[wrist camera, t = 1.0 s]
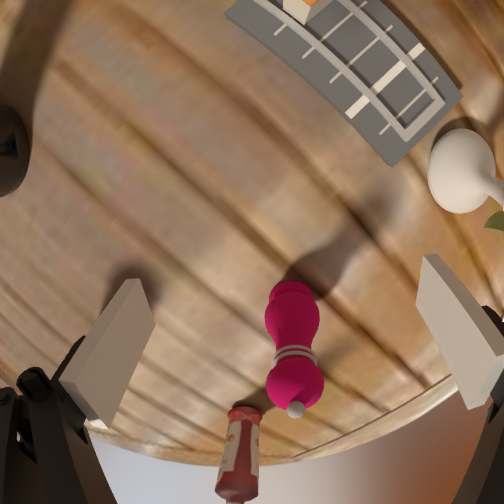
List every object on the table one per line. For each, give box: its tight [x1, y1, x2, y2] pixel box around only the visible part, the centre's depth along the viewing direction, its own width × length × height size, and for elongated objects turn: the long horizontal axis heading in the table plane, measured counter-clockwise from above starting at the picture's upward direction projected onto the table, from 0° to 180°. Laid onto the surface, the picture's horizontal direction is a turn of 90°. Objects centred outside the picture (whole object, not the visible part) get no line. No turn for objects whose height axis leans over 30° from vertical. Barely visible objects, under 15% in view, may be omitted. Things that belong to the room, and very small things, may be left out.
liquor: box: [215, 405, 262, 504], centre depth 45 cm, size 7×7×28 cm
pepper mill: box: [265, 281, 324, 418], centre depth 35 cm, size 7×7×20 cm
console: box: [224, 0, 463, 167], centre depth 28 cm, size 26×14×3 cm, turn 48°
